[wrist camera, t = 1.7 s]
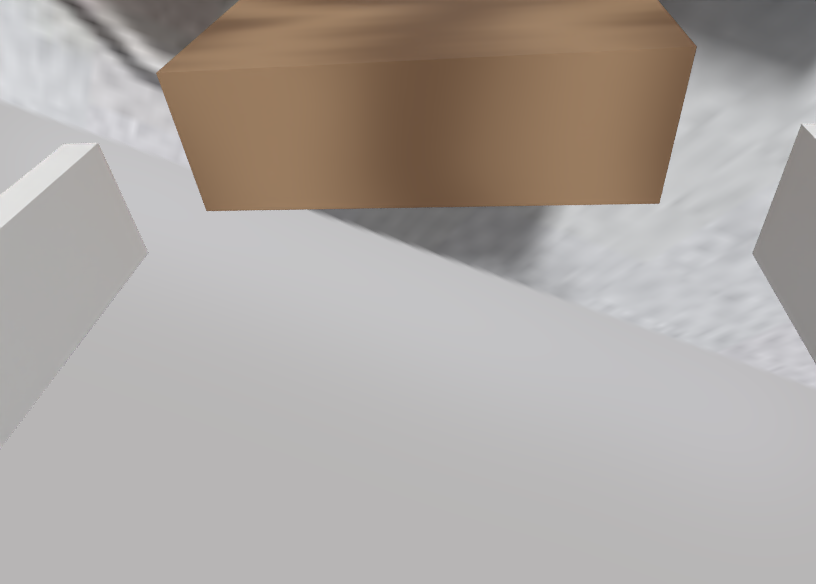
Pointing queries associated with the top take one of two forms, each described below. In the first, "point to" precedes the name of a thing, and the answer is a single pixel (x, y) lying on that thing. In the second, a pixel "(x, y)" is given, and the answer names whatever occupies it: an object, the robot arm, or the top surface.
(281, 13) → the walnut frame
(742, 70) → the top surface
